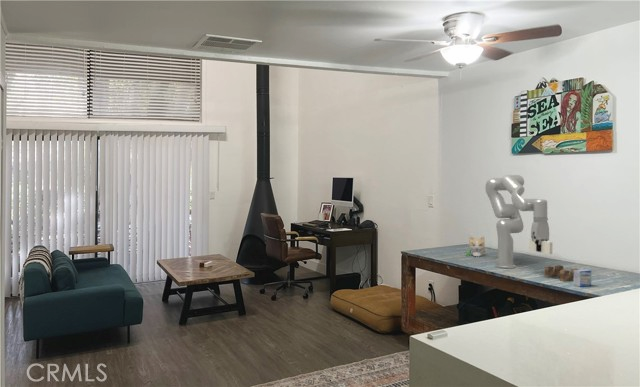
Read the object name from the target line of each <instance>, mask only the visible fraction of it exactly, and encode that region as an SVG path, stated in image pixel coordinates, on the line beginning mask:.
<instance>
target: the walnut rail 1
mask: <svg viewBox="0 0 640 387" xmlns="http://www.w3.org/2000/svg"><path fill="white" fill-rule="evenodd" d="M560 270H564V265H559V264H558V265H554V266H552V265H550V266H549V265H548V266H544V277H545V278H556V277H558V278H559V277H560Z"/></svg>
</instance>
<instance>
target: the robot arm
mask: <svg viewBox="0 0 640 387" xmlns="http://www.w3.org/2000/svg"><path fill="white" fill-rule="evenodd" d="M524 184H525V179H524V177H523V176H522V175H520V174H507V175H504V176H502V177H494V178H493V177H492V178H490V179H487V181H486V182H485V187H484V188H485V189H484V190H485V193H486V194H487V197H488V198H489V201H490V204H491V207H492V210H493V213H494V216H495V217H496V218H497V219H499V220H498V221H497V222H496V224H495V225H496V226H495V228H496V231H497V258H496V259H494V262H496V263H495V265H494V266H495V267H496V268H501V269H515V268H516V267H517V265H516V264H514V238H513V236H512V235H511V234H519V233H522V232H523V230H524V222H523V219H522V216H521V212H533V222H532V223H531V229H530V239H532V241H533V242H535V244H536V251H539V252H541V245H540V240H542V241H548V242H549V241H550V226H549V222H548V221H549V218H548V200H546V199H541V198H540V199H538V198H523V197H522V195H523V194H524V193H525V187H524ZM501 191H507V192H508V193H509V194H510V195H511V202H512V203H506V202H505V198H504V196H502V194H501V193H500V192H501ZM539 252H538V253H539Z"/></svg>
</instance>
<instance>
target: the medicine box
mask: <svg viewBox="0 0 640 387" xmlns="http://www.w3.org/2000/svg"><path fill="white" fill-rule="evenodd" d="M573 286H575V287H579V288H584V287H591V286H592V270H590V269H587V268H586V269H582V268H581V269H579V270H574V280H573Z"/></svg>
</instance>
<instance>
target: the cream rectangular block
mask: <svg viewBox="0 0 640 387" xmlns="http://www.w3.org/2000/svg"><path fill="white" fill-rule="evenodd" d="M540 245H541V252H539V251H536V244H535V242H533V241H532V238H529V239H528V251H530V252H535V253H540V254H546V255H553V241H549V240H548V241H542V240H540Z"/></svg>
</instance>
